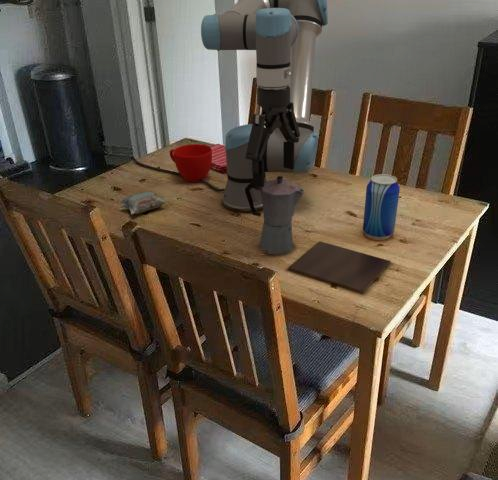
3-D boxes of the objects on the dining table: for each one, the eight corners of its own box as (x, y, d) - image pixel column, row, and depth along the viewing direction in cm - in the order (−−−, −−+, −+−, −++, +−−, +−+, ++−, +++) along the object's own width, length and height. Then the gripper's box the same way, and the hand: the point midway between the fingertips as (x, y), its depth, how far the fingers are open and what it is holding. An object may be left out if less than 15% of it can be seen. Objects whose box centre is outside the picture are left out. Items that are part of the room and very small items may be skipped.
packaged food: (167, 209, 166) (165, 194, 163) (132, 220, 160) (129, 204, 158) (154, 200, 172) (152, 186, 169) (120, 211, 166) (117, 196, 164)
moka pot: (301, 258, 138) (303, 185, 127) (242, 254, 141) (239, 182, 130) (305, 240, 146) (307, 170, 135) (250, 237, 149) (247, 167, 138)
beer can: (387, 244, 143) (394, 187, 134) (357, 237, 147) (362, 181, 138) (398, 231, 149) (405, 176, 140) (369, 224, 153) (374, 170, 144)
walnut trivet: (288, 270, 134) (288, 267, 133) (319, 243, 144) (319, 241, 144) (362, 294, 124) (362, 291, 123) (390, 263, 135) (390, 260, 134)
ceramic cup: (184, 167, 196) (182, 140, 191) (221, 176, 187) (219, 147, 182) (160, 178, 187) (156, 150, 182) (197, 188, 179) (194, 159, 173)
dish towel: (224, 174, 189) (223, 167, 187) (184, 158, 204) (183, 151, 202) (260, 161, 198) (260, 154, 196) (219, 147, 213) (219, 140, 211)
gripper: (256, 100, 110) (258, 197, 122) (315, 77, 127) (312, 163, 139) (226, 96, 114) (231, 190, 126) (288, 74, 131) (287, 158, 143)
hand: (274, 176), depth 132 cm, fingers open, 13 cm apart
